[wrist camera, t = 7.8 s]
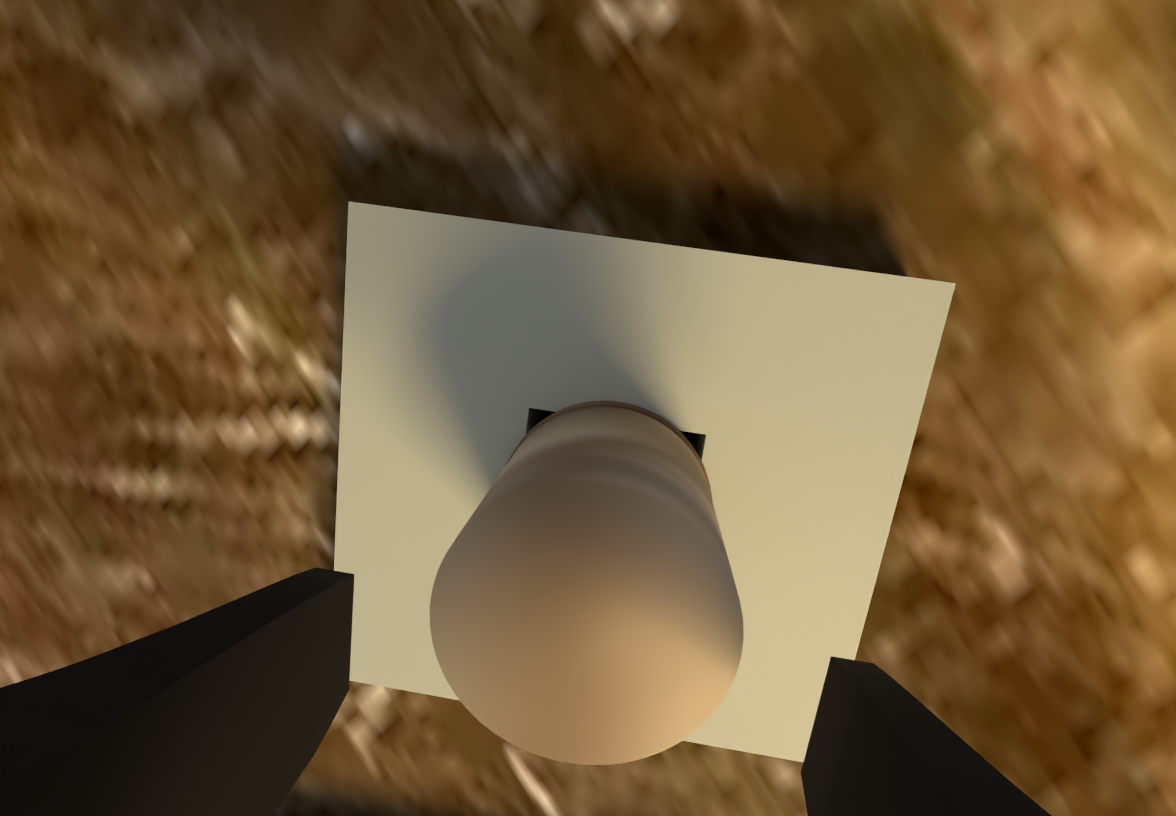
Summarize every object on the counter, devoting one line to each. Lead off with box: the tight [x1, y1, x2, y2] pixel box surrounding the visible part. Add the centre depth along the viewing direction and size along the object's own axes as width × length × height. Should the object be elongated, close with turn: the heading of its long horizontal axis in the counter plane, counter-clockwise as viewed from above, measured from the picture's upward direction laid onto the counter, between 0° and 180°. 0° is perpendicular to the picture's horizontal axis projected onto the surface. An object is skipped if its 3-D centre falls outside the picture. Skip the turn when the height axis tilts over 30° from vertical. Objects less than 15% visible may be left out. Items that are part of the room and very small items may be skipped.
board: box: [334, 202, 956, 762], centre depth 17 cm, size 14×13×2 cm
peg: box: [430, 401, 744, 765], centre depth 14 cm, size 5×5×8 cm
